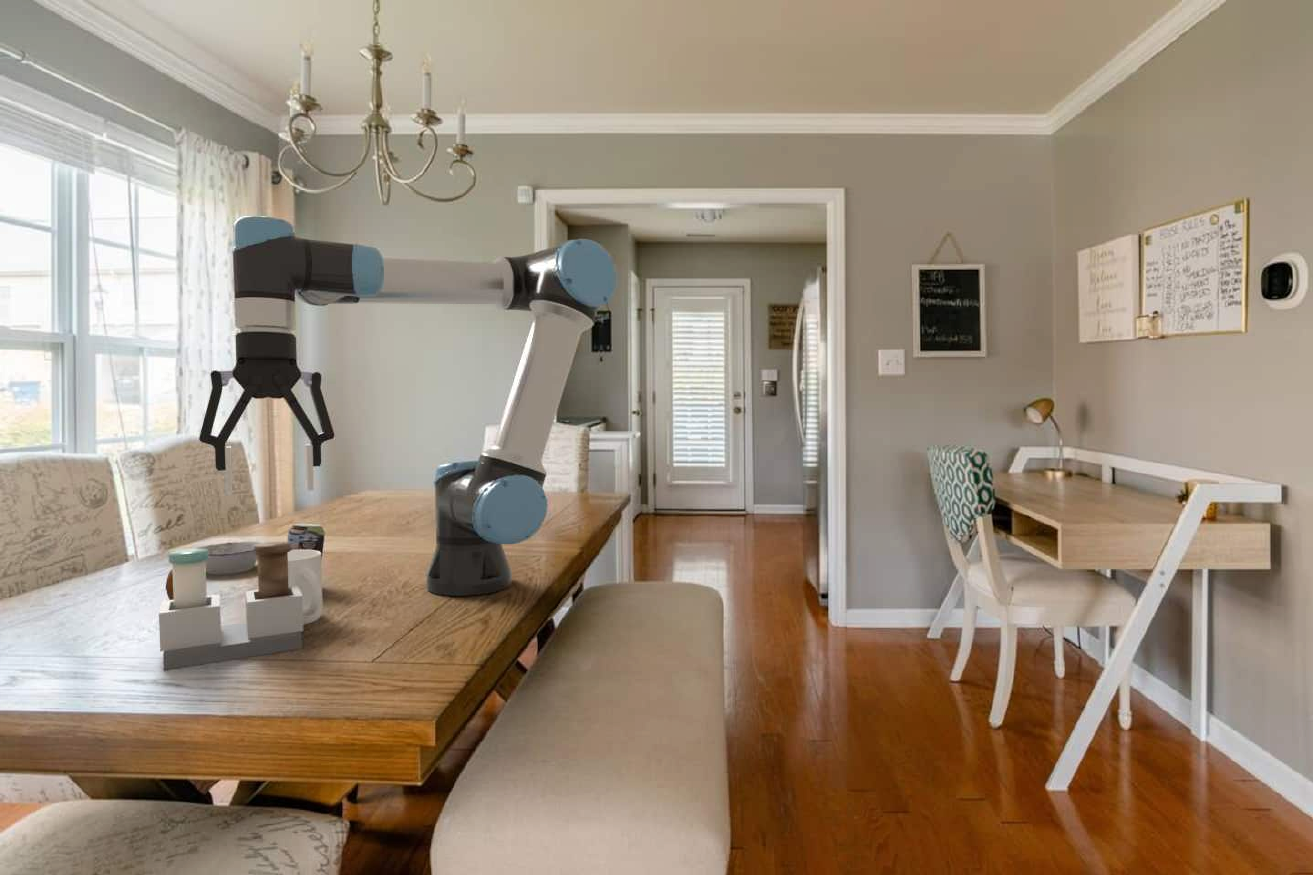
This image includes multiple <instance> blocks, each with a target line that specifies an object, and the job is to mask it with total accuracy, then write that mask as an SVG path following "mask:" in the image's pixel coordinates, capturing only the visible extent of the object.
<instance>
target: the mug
mask: <svg viewBox="0 0 1313 875" xmlns="http://www.w3.org/2000/svg"><path fill="white" fill-rule="evenodd" d="M322 572H323V571H322V561H321V552H320V551H316V550H291V551H289V552H288V586H295V585H298V587H299V589H300V592H301V594H302V603H303V626H305V625H308V624H312V623H315V622H316V621H318V620H319V619H320V618H321V617H322V614H323V578H322V577H323V574H322Z"/></svg>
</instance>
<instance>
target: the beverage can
mask: <svg viewBox="0 0 1313 875" xmlns="http://www.w3.org/2000/svg"><path fill="white" fill-rule="evenodd" d="M287 532H288V533H287V541H286V542H289V543H290V545H291V550H316V551H320V552H321V562H322V559H323V552H324V551H323V550H324V544H325V534H326V533H325V530H324V529H323V524H317V523H316V524H315V523H306V522H305V523H303V522H302V523H300V522H298V523H297V522H296V523H293V524H292V526H291V528H289V530H288V531H287Z"/></svg>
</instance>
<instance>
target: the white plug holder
mask: <svg viewBox="0 0 1313 875" xmlns="http://www.w3.org/2000/svg"><path fill="white" fill-rule="evenodd" d="M220 595H221V594H220V593H218V594H209V595H207V606H201V607H193V608H185V609H177V610H174V600H169V599H168V600H162V601H161V604H160V608H159V611H158V623H159V626H158V627H159V629H158V630H159V650H160V652H163V654H162V658H163V659H162V660H163V671H166V670H173V669H179V668H186V667H192V666H197V665H198V666H200V665H204V664H211V663H217V662H224V661H231V660H236V659H237V660H238V659H243V658H244V659H245V658H249V657H255V656H263V655H269V654H275V653H281V652H289V651H295V650H301V649H302V648H303V647H302V646H303V645H302V633H301V632H304V625H303V603H302V594H301V592H300V589H299V587H298V585H295V586H289V596H283V597H275V598H267V599H259V590H258V589H254V590H252V589H251V590H246V591H245V614H246V615H245V617H246V618H245V619H246V622H239V623H233V624H228V625H227V624H226V625H225V624H224V625H222V623H221V617H222V616H221V599H220V598H221V596H220Z"/></svg>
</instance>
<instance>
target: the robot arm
mask: <svg viewBox="0 0 1313 875" xmlns="http://www.w3.org/2000/svg"><path fill="white" fill-rule="evenodd" d="M232 228H233V233H232V250H231V254H232V270H233V272H232V273H233V274H232V275H233V294H234V299H233V300H234V307H233V308H234V327H235V328H236V329H238V330H239V332H237V333H236V334H235V336H234V337H235V366H234V368H232V370H221V371H219V370H217V369H216V370H212V371H211V372H210V381H211V387H212V388H211V392H210V396H209V399H208V404H207V406H206V410H205V415H204V418H203V422H202V426H201V430H200V433H199V437H198V438H199V441H200V442H201V443H202V444H207V445H210V446H212V447H213V448H214V458H215V468H216V471H217V472H219V471H225V492H226V496H233V494H234V492H233V459H232V458H233V457H232V456H233V454H232V446H231V445H229V446H228V445H227V446H226V443H227V441H228V440H229V438H230V436H231V434H232V433H233V431H234V429H235V428H236V426H237V424H238V423H239V421H240V419H241V417H242V415H243V413H244V412H245V410H246V409H247V407H248V405H249V403H250V402H251V400H252V399H260V400H261V399H267V398H270V399H275V400H276V399H279V400H280V399H284V401H285V403H286V404H287V406H288V407H289V408H290V410H291V413H292V414H293V415H294V416H295V418H296V420H297V421H298V423H299V425H300V426H301V428H302V430H303V431H304V433H305V434H306V436H307V437H308V440H309V441H310V443H305V444H304V456H305V458H304V459H305V460H304V461H305V463H304V464H305V490H307V491H308V492H309V491H314V486H315V485H314V467H321V465H322V444H323V443H324V442H327V441H330V440H333V439H334V438H335V432H334V429H333V425H332V421H331V418H330V416H329V412H328V410H327V406H326V402H325V398H324V395H323V393H322V392H323V391H322V389H321V386H322V374H321V373H320V372H319V371H314V372H310V371H309V372H308V371H301V370H300V368H299V366H298V362H297V361H298V360H297V356H298V355H297V354H298V353H297V337H296V336H295V334H293V332H292V331H295V330H296V328H297V320H296V319H297V318H296V297H297V298H298V299H299V300H300V301H301V302H303V303H305V304H308V305H311V306H316V307H317V306H319V307H322V306H323V307H324V306H328V305H331V304H335V305H336V304H338V305H339V304H347V305H348V304H390V305H391V304H399V305H400V304H402V305H403V304H407V305H408V304H409V305H410V304H411V305H412V304H413V305H415V304H418V305H423V304H425V305H432V304H433V305H440V304H442V305H495V306H496V308H497V309H499V310H501V311H503V310H504V311H505V310H507V311H508V310H509V311H524V312H532V314H533V317H534V318H533V321H532V322H531V323H532V324H531V327H530V331H529V334H528V335H527V339H526V342H525V345H524V349H523V352H522V355H521V358H520V361H519V363H518V367H517V370H516V373H515V377H514V380H513V382H512V385H511V389H510V391H509V395H508V398H507V400H506V404H505V408H504V410H503V413H502V416H501V419H500V423H499V426H498V429H497V432H496V434H495V435H496V436H495V437H494V438H495V439H494V441H493V444H492V446H491V447H490V448H488V449H486V450H484V451H483V452H481V453H480V454H479V458H478V460H469V461H468V460H467V461H458V462H457V461H456V462H446V463H442V464H439V465H438V466H437V467H436V469H435V479H434V482H433V485H434V493H435V494H434V500H435V544H436V545H435V550H434V552H433V556H432V558H431V562H430V566H429V568H428V572H427V575H426V589H427V591H429V592H430V593H432V594H436V595H441V596H452V597H453V596H454V597H467V596H468V597H469V596H479V595H488V594H493V593H496V592H500V591H502V590H503V591H504V590H505V589H507V588H509V587H510V586H511V585H512V571H511V567H510V565H509V561H508V559H507V557H506V553H505V551H504V548H503V545H516V544H520V543H522V542H524V541H526V540H528V539H530V538H531V537H532V536H534V535H535V534H536V533H537V532H538V531H539V529H540V528H541V526H542V525H543V524H544V522H545V519H546V516H547V512H548V497H547V496H546V494H545V490H544V489H543V487H544V483H545V481H546V478H547V471H546V469H545V467H544V465H543V462H542V460H543V457H544V453H545V451H546V446H547V443H548V440H549V438H550V435H551V432H552V431H551V430H552V428H553V425H554V422H555V418H556V415H557V412H558V408H559V405H560V402H561V399H562V396H563V393H564V390H565V386H566V382H567V380H568V376H569V373H570V370H571V367H572V364H573V360H574V357H575V354H576V351H577V348H578V344H579V342H580V339H581V336H582V334H583V332H585V331H588V330H589V329H592V328H593V326H594V324H595V320H596V316H597V313H598V310H599V307H600V306H603V305H605V304H606V303H607V302H608V301H610V300H611V298H612V297H613V296H614V295H615V292H616V290H617V287H618V286H617V285H618V271H617V266H616V264H615V263H614V261H613V259H612V256H611V255H610V253H609V252H608V251H607V249H606V248H605V247H603V246H602V245H601V244H600V243H598V242H597V241H594V240H591V239H589V238H588V239H587V238H578V239H568V240H565V241H564V242H562V243H561V244H559V245H556V246H552V247H549V248H545V249H542V250H540V251H537V252H533V253H529V254H526V255H520V256H511V257H510V256H509V257H508V256H507V257H506V256H498V257H497V258H496V259H495V260H494V261H493V262H492V261H490V262H489V261H488V262H487V261H470V260H468V261H464V260H444V259H443V260H440V259H438V260H437V259H414V258H413V259H411V258H410V259H409V258H385V257H383V256H382V253H381V252H380V250H378V249H377V248H376V247H373V246H367V245H360V244H359V243H356V242H355V243H354V244H353V243H344V242H334V241H325V240H317V239H307V238H301V237H298V236H296V233H295V232H294V226H293V224H292V223H291V222H289V221H287V220H285V219H280V218H276V217H274V216H273V217H272V216H264V215H248V216H241V217H239V218H238V219H236V221H234V223H233V226H232ZM231 379H234V380H235V381H236V383H237V384H239V385H240V386H241V388H242V389H243V392H242V393H241V395H240V397H239V399H238V400H237V402H236V404H235V406H234V407H233V409H232V410H231V412H230V414H229V416H228V418H227V419H226V421H225V423H224V424H223V426H222V428H221V430H220V431H219V433H218V435H217V436H216V435H213V434H212V431H213V428H214V424H215V420H216V416H217V412H218V408H219V404H220V402H221V398H222V393H223V387H227V386H228V385H229V382H230V380H231ZM299 380H302V381H303V384H304V385H305V387H307V388H309V392H310V396H311V398H312V401H313V405H314V408H315V412H316V415H317V420H318V422H319V425H320V429H321V431H322V432H320V433H318V432H317V430H316V429H315V427H314V425H313V423H312V421H311V420H310V419H309V417H308V415H307V414H306V412H305V410H304V409H303V408H302V406H301V404H300V402H299V401H298V399H297V397H296V396H295V394H294V392H293V391H292V390H293V388H294V387H295V385H296V384H297V383H298V381H299Z"/></svg>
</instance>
